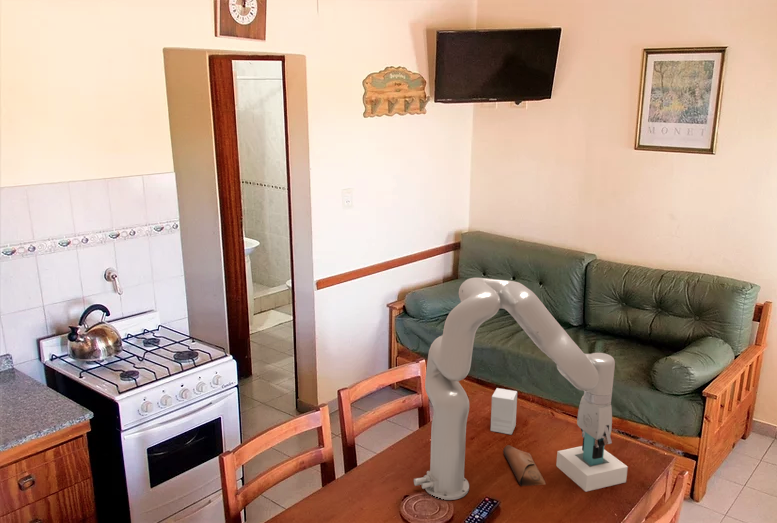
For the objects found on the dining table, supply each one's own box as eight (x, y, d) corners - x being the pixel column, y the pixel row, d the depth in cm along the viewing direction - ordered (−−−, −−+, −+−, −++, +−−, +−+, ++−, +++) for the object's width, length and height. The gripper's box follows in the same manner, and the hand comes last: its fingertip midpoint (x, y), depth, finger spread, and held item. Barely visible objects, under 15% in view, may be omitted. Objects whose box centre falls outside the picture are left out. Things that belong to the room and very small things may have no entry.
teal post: (591, 465, 185) (593, 437, 183) (582, 458, 188) (584, 431, 186) (602, 463, 186) (605, 435, 184) (593, 456, 190) (596, 428, 188)
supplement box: (516, 425, 217) (518, 391, 214) (511, 435, 210) (513, 400, 207) (494, 421, 219) (496, 387, 216) (489, 431, 213) (491, 396, 210)
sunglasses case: (548, 484, 182) (538, 467, 181) (527, 497, 183) (516, 479, 181) (528, 452, 200) (519, 435, 198) (509, 463, 200) (499, 447, 198)
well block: (585, 491, 179) (587, 475, 178) (556, 466, 192) (557, 451, 191) (625, 482, 184) (627, 466, 183) (594, 457, 197) (596, 443, 196)
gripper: (568, 386, 189) (564, 442, 193) (606, 410, 173) (600, 471, 178) (589, 382, 191) (584, 438, 195) (628, 406, 176) (621, 466, 180)
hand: (592, 453), depth 187 cm, fingers closed on teal post, 3 cm apart
